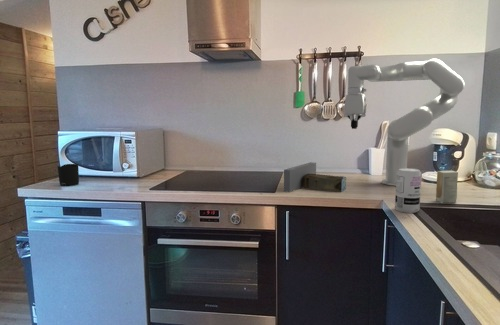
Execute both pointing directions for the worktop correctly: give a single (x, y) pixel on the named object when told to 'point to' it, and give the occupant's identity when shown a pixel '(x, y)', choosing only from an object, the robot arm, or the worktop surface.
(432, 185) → the worktop surface
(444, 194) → the skincare box
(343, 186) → the beverage carton
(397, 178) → the supplement can
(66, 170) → the pen holder
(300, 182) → the board
